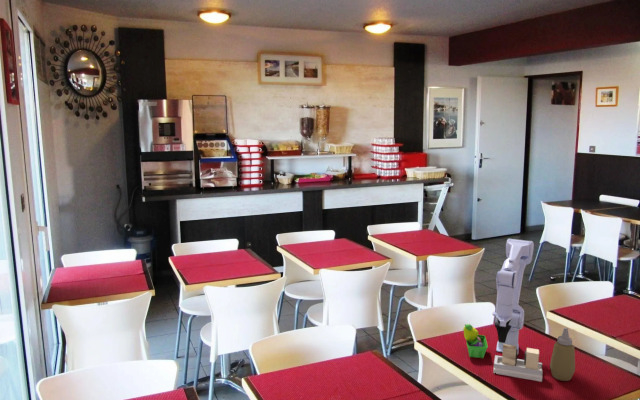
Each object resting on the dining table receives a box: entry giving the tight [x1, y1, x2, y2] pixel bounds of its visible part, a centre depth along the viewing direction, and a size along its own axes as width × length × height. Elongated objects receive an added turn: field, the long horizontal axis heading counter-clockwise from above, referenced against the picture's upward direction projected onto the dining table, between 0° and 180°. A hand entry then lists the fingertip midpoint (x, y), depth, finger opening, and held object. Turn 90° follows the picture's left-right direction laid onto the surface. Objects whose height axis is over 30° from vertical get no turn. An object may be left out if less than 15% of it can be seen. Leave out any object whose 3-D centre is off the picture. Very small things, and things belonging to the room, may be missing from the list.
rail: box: [492, 347, 543, 383], centre depth 189 cm, size 10×16×8 cm, turn 69°
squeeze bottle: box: [549, 327, 576, 382], centre depth 184 cm, size 8×8×18 cm
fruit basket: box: [462, 323, 489, 359], centre depth 204 cm, size 11×9×11 cm
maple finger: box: [501, 344, 519, 366], centre depth 190 cm, size 4×5×7 cm
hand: (502, 338), depth 195 cm, fingers open, 7 cm apart
